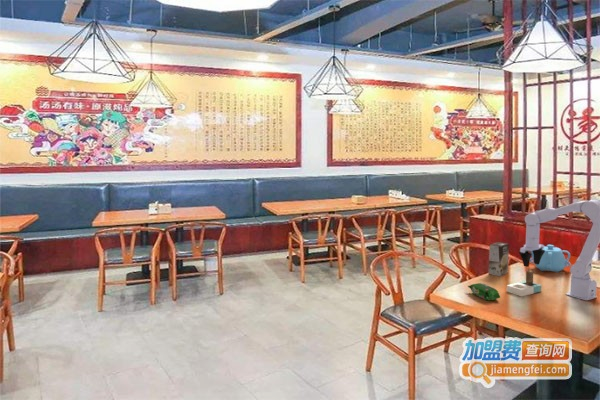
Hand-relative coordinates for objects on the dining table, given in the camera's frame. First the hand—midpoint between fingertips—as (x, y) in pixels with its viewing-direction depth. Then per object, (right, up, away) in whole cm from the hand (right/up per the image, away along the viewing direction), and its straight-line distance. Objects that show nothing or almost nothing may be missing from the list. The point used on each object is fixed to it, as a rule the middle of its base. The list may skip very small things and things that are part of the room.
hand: (531, 265), depth 216 cm
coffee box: (-6, -8, +23) cm, 25 cm away
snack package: (-28, -13, -11) cm, 32 cm away
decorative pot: (+24, -7, +27) cm, 37 cm away
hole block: (-7, -12, -6) cm, 15 cm away
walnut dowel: (-3, -11, -5) cm, 13 cm away
